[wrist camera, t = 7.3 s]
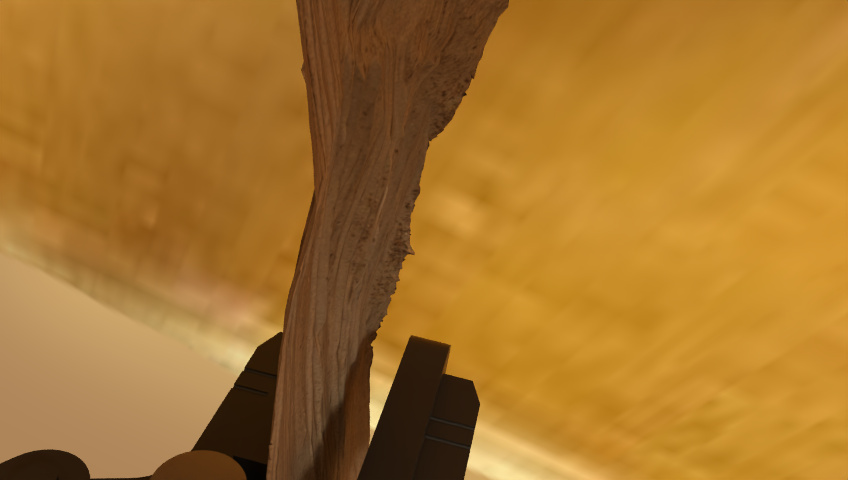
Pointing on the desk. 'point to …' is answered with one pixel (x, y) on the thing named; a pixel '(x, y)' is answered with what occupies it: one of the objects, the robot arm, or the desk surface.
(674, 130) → the desk surface
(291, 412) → the wood plank
